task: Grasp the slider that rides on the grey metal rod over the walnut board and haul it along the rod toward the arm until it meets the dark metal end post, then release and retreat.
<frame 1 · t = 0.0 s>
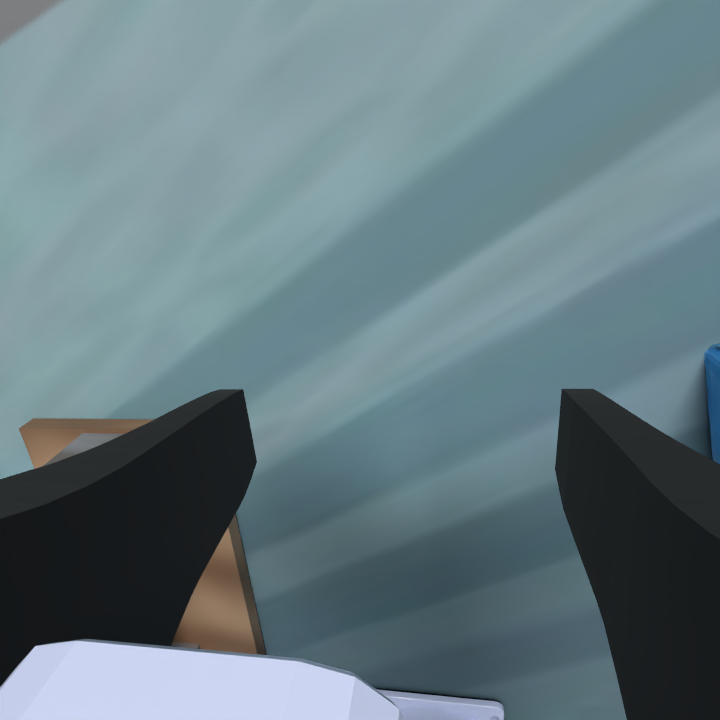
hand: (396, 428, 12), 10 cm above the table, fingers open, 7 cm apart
rail: (159, 546, 29), on the table
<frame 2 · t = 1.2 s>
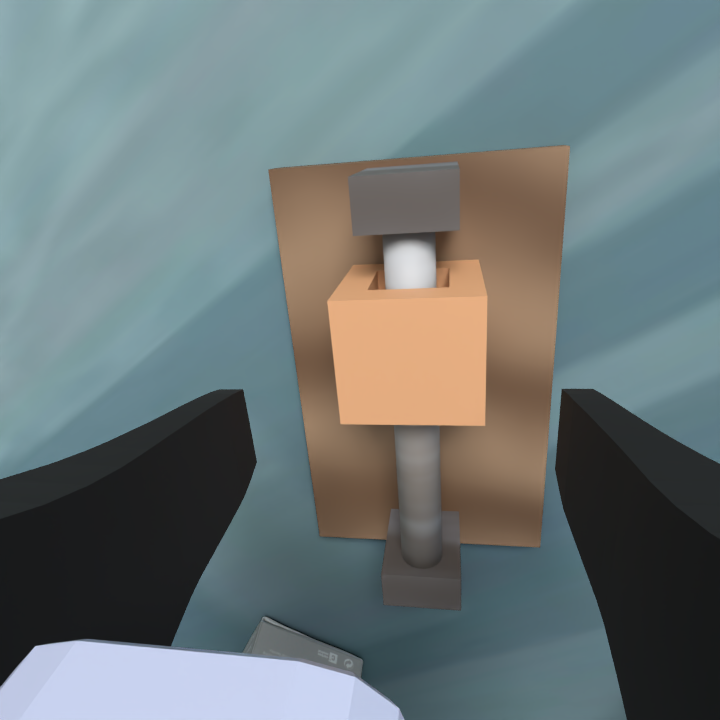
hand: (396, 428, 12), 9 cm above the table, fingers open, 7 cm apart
rail: (421, 369, 21), on the table
skincare box: (297, 674, 31), on the table
slider: (412, 337, 17), point 4 cm above the table, slide at 0.0 cm
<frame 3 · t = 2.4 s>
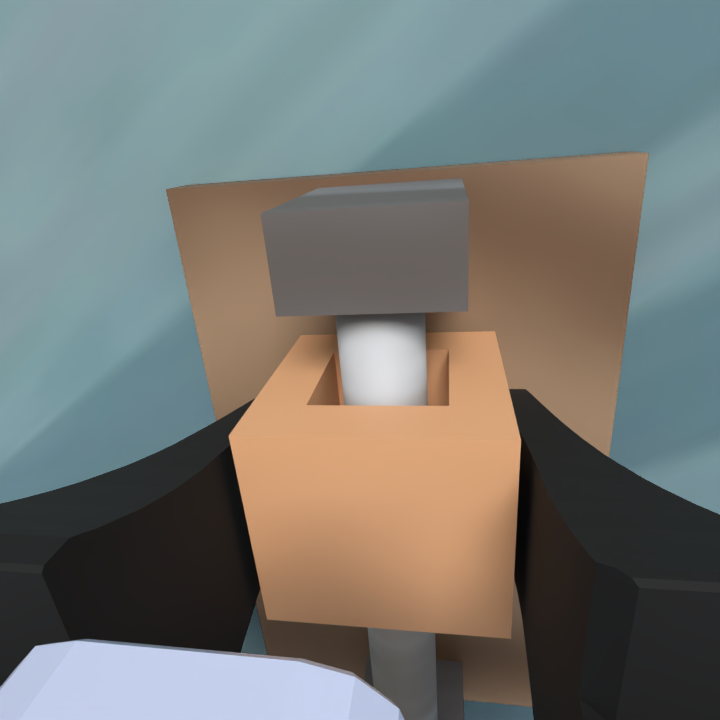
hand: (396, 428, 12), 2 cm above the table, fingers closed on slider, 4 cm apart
rail: (408, 472, 15), on the table
slider: (390, 464, 10), point 4 cm above the table, slide at 0.0 cm, touching gripper
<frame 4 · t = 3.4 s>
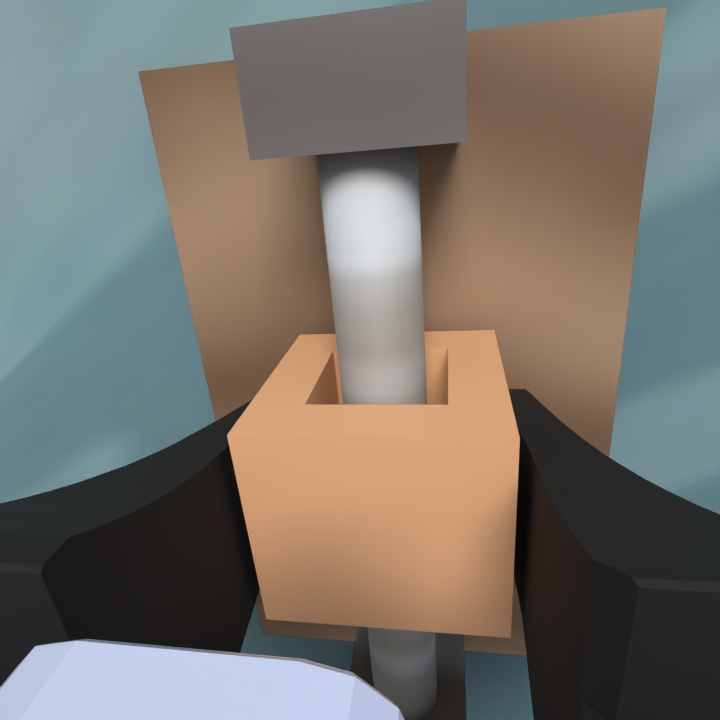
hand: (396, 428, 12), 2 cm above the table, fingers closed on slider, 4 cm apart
rail: (404, 400, 14), on the table
slider: (389, 463, 10), point 4 cm above the table, slide at 2.3 cm, touching gripper
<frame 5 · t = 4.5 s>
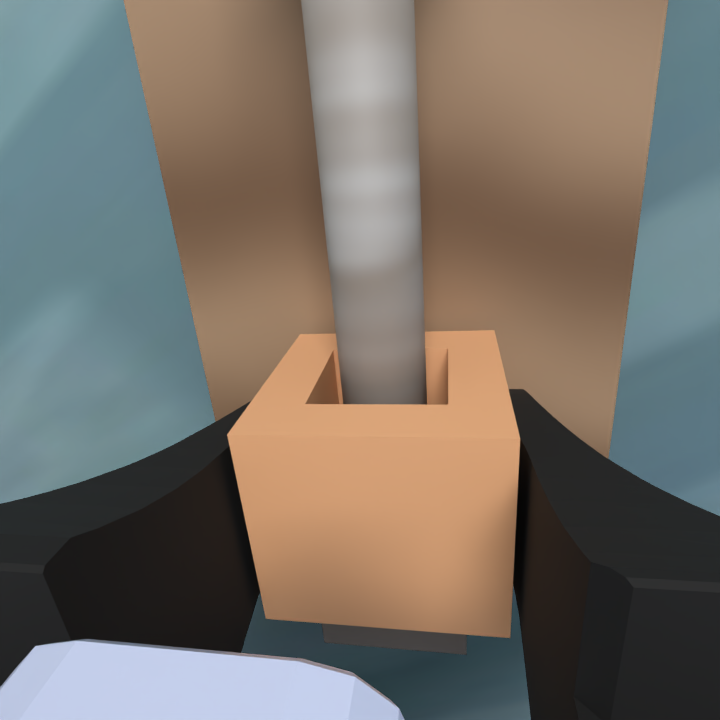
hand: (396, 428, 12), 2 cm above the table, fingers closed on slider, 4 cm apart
rail: (394, 224, 12), on the table
slider: (389, 463, 10), point 4 cm above the table, slide at 7.0 cm, touching gripper
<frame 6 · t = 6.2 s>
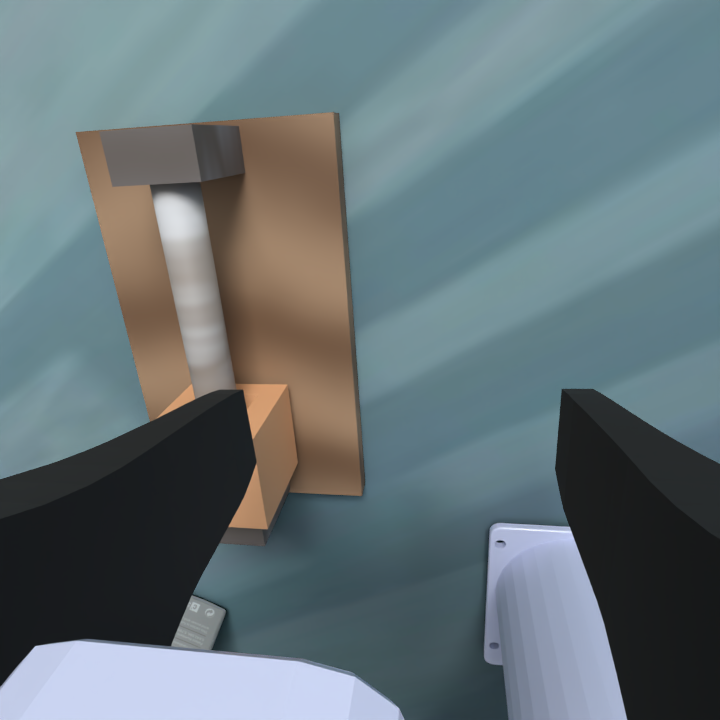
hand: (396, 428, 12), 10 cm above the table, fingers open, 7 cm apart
rail: (243, 326, 23), on the table
skincare box: (171, 626, 32), on the table
slider: (227, 450, 21), point 4 cm above the table, slide at 7.0 cm
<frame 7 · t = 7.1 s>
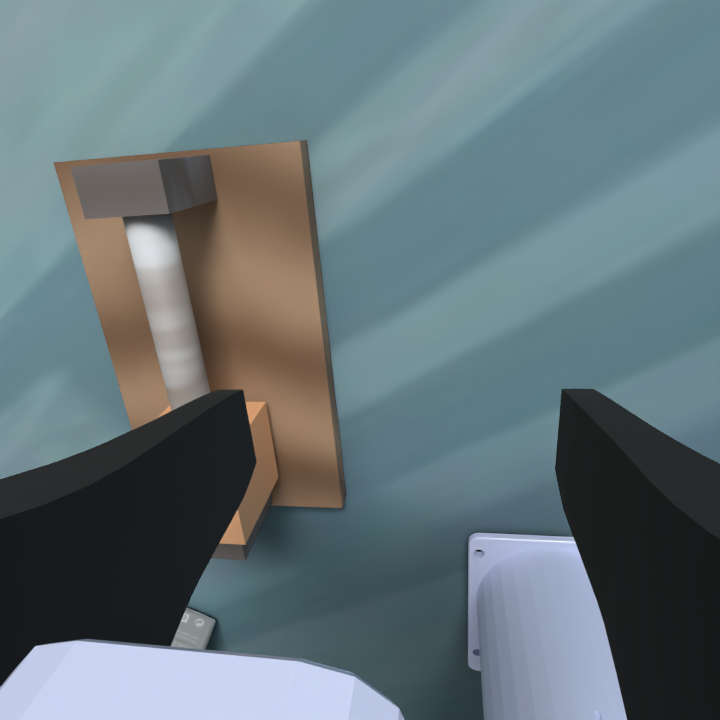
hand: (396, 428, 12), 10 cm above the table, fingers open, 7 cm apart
rail: (222, 345, 23), on the table
skincare box: (163, 635, 33), on the table
slider: (206, 467, 22), point 4 cm above the table, slide at 7.0 cm
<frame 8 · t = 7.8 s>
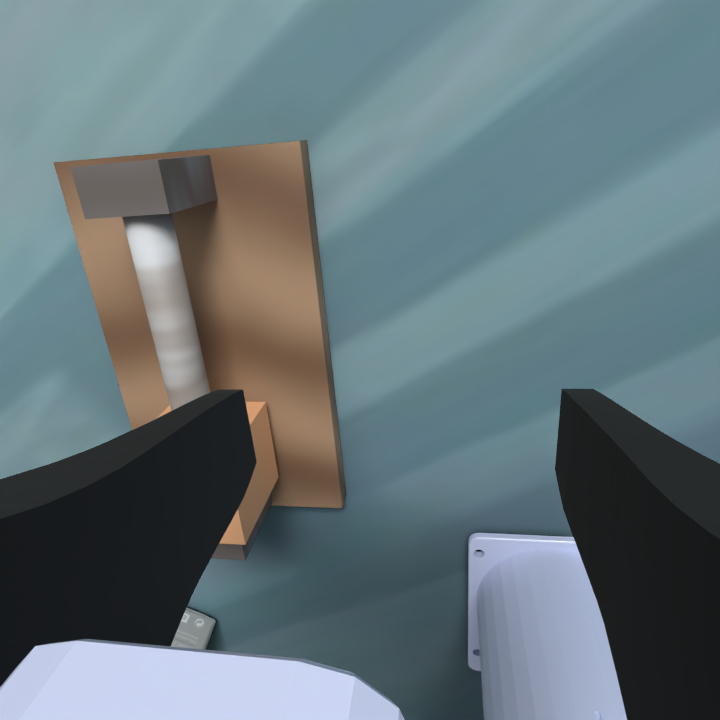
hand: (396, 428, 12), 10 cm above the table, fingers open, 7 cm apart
rail: (222, 345, 23), on the table
skincare box: (163, 635, 33), on the table
slider: (206, 467, 22), point 4 cm above the table, slide at 7.0 cm
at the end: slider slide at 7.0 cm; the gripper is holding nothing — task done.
